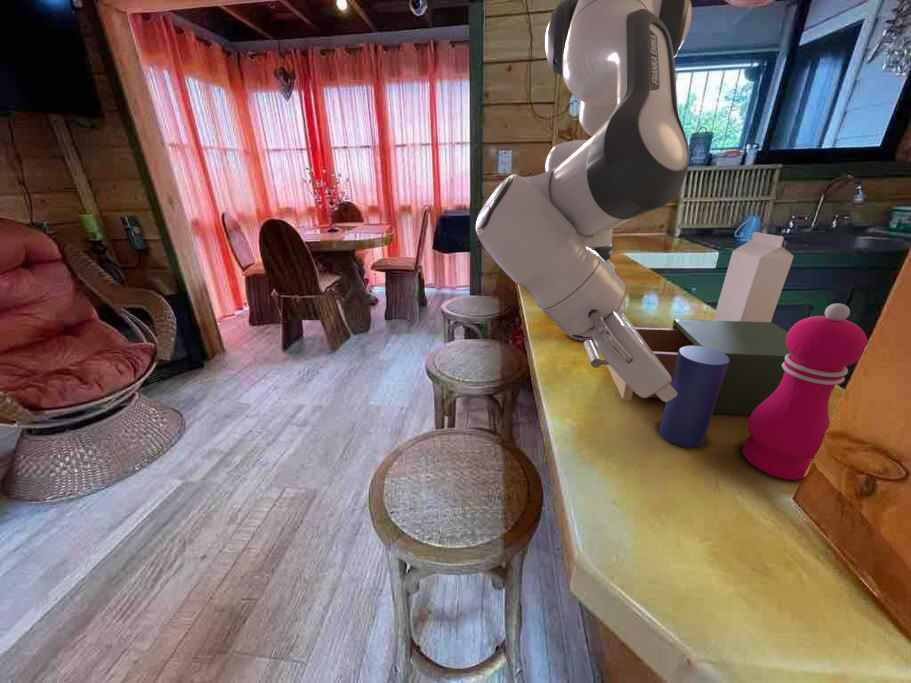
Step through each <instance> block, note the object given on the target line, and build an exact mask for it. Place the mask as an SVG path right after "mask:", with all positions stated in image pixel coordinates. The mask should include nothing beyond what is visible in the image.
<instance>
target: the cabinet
mask: <svg viewBox="0 0 911 683" xmlns="http://www.w3.org/2000/svg"><path fill="white" fill-rule="evenodd" d="M671 328H673V329H679V330H680V331H681V332H682V333H683V334H684V335H685V336H686V337H687V338H688V339H689V340H690V341H691V342H692V343H693V344H694V345H695V346H702V347H707V348H711V349H715V350H717V351H720V352H722V353H724V354H725V355H727V356H728V357H729V364H728V367H727V370H726V373H725V377H724V380H723V383H722V386H721V389H720V392H719V395H718V399H717V402H716V405H715V408H714V411H713V414H729V415H744V416H745V415H746V416H750V415H751V414H752V412H753V411H754V410H755V408H756V407H757V406H758V405H759V404H761V403H762V402H763V401H764V400H765V399H767V398H768V397H769V396H770V395H771V394H772V393H773V392H774V391H775V390H776V389H777V388H778V386H779V384H780V382H781V381H782V379H783V376H784V372H785V370H784V369H783V368H782V364H783V362H785V356H786V355H787V354H790V351H789V350H788V348H787V346H786V337H787V334H788V332H789V331H787V330H785V329H784V328H782V327H780V326H778V325H777V324H775V323H773V322H772V321H771V322H745V321H713V320H711V319H710V320H707V319H676V318H675V319H673V323H672V327H671Z"/></svg>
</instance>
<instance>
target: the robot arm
mask: <svg viewBox="0 0 911 683" xmlns="http://www.w3.org/2000/svg"><path fill="white" fill-rule="evenodd" d="M692 9H693V8H692V2H691V0H562V1H561V2H559V3H558V4H557V5H556V7H555V8H553V10H552V11H551V14H550V17H549V21H548V24H547V27H546V31H545V36H544V50H545V55H546V60H547V65H548V67H549V68H550V70H551V72H553V73H554V74H556V75H559V76H562V78H563V81H564V84H565V86H566V88H567V89H568V92H570V93H571V94H572V95H573V97H574V98H576V99H577V100H578V101H579V106H578V121H579V124H580V126H581V128H582V129H583V131H584V132H585V133H586V134H587V135H589V136H590V137H589V138H588V139H575V140H570V141H566V142H565V141H564V142H561V143H558V144H555V145H554V146H553V147H552V148H551V149H550V151H549V152H548V154H547V157H546V158H545V164H544V171H545V172H542V173H540V174H534V175H530V176H521V175H519V174H517V173H513V174H511V175H509V176H507V177H506V178H505V179H503V181H501V182H500V183H499V185H498V186H497V187H496V188H495V189H494V190H493V192H492V194H491V195H490V197H489V198H487V200H486V201H485V203H484V205H483V206H482V208H481V209H480V211H479V213H478V215H477V217H476V222H475V232H476V235H477V237H478V240H479V241H480V243H481V245H482V246H483V247H484V249H485V251H486V252H487V253H488V255H489V256H490V257H491V258H492V259H493V260H494V262H495V263H496V264H497V266H499V267H500V268H501V269H502V270H503V272H504V273H505V274H506V275H507V276H508V277H509V278H510V279H511V281H513V282H514V283H515V284H516V285H518V286H520V287H522V288H523V289H525V290H526V291H527V292H528V293H529V294H530V295H531V296H532V298H533V300H534V302H535V303H536V306H537V307H538V308H539V309H540V310H541V311H542V312H543V313H544V314H545V315H546V316H547V317H548V318H549V319H550V320H551V321H552V322H553V323H554V324H555V325H556V326H557V328H559V329H560V330H561V331H562V333H564V334H565V335H567V336H569V335H577V334H580V335H581V336H583V337H592V341H593V343H594V344H595V346H596V350H597V352H598V353H599V354H600V355H601V356H602V357H603V360H606V361H607V362H608V363H609V365H610V366H611V367H612V368H613V369H614V370H615V371H616V373H617V374H618V375H619V376H620V377H621V378H622V379H623V380H624V381H625V382H626V384H627V385H628V386H629V387H630V388H631V389H632V390H633V392H634V393H635V394H636V395H637V396H638V397H639V396H640V398H643V399H647V398H650V397H649V396H651V395H653V394H654V393H655V394H656V395H657V396H658V397H659V398H658V399H660V400H661V402H664V403H666V402H668V401H669V400H671V399H673V398H674V397H676V396H677V392H676V390H675V389H674V388H673V386H672V385H671V384H670V383H671V381H672V378H671V376H670V374H669V373H668V371H667V370H666V369H665V367H664V366H663V365H662V363H661V362H660V361H659V359H658V358H657V357H656V355H655V354H654V353H653V351H652V350H651V349H650V348H649V346H648V345H647V344H646V342H645V341H644V340H643V338H642V337H641V336H640V334H639V333H638V332H637V330H636V329H635V328H634V327H635V326H634V325H633V324H632V322H631V321H630V320H629V318H628V317H627V316H626V314H624V311H625V308H626V301H625V300H624V297H625V295H626V291H627V286H626V283H625V282H624V281H623V280H622V278H620V276H619V275H618V274H617V273H616V271H615V270H616V266H615V265H614V263H613V262H612V261H611V258H612V253H613V244H612V239H613V234H614V229H615V228H617V227H619V226H620V225H623V224H624V223H627V222H628V221H630V220H632V219H636V218H638V217H641V216H643V215H646V214H648V213H650V212H653V211H655V210H657V209H660V208H663V207H664V206H665V207H666V205H668V204H669V203H671V202H672V201H673V200H674V199H675V198H676V196H677V195H678V193H679V192H680V190H681V187H682V186H683V183H684V181H685V178H686V176H687V173H688V168H689V165H690V157H691V156H690V147H689V142H688V138H687V136H686V132H685V129H684V127H683V123H682V121H681V117H680V111H679V110H680V109H679V108H680V107H679V98H678V85H677V74H676V73H677V72H676V61H675V58H676V57H677V55H678V53H679V50H680V49H681V48H682V46H683V44H684V42H685V40H686V38H687V35H688V34H689V30H690V26H691V22H692V15H693V13H692V11H693V10H692Z"/></svg>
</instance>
